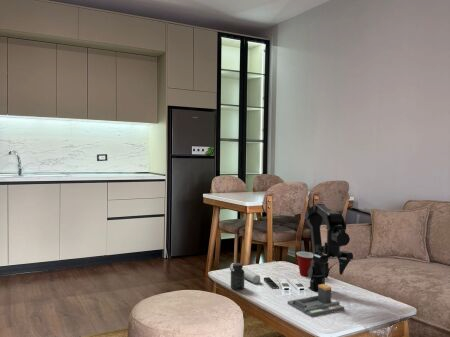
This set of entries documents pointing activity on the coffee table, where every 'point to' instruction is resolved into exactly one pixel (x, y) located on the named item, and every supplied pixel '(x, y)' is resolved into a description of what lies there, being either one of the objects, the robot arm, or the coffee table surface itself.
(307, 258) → the plastic cup
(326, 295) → the handle
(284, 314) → the coffee table surface
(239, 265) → the supplement bottle
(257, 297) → the coffee table surface
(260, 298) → the coffee table surface
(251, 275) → the tube
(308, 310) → the panel
